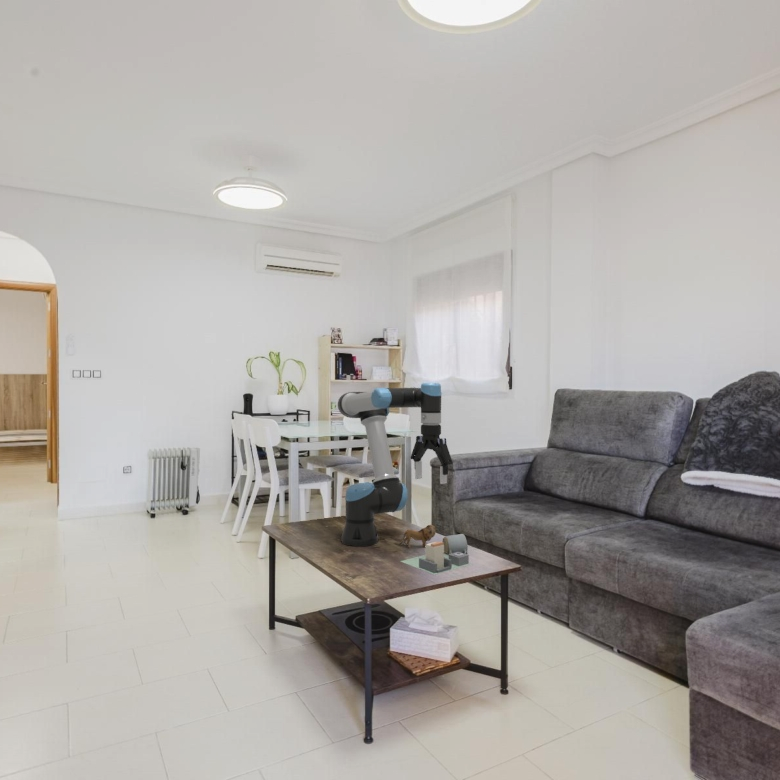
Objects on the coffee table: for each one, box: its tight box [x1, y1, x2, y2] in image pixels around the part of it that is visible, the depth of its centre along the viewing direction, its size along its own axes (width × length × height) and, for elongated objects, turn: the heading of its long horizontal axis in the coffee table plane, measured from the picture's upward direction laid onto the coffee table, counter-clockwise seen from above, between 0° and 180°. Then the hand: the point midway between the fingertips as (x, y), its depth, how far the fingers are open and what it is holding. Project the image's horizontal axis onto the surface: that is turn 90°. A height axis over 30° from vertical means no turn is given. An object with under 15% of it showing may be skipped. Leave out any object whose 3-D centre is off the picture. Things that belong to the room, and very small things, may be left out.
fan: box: [448, 552, 470, 566], centre depth 199 cm, size 5×5×4 cm
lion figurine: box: [398, 524, 436, 549], centre depth 222 cm, size 15×5×9 cm, turn 83°
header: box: [419, 557, 452, 574], centre depth 194 cm, size 9×8×3 cm
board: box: [399, 554, 471, 576], centre depth 199 cm, size 18×18×1 cm
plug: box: [425, 541, 445, 569], centre depth 193 cm, size 4×4×9 cm
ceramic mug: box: [441, 533, 469, 555], centre depth 211 cm, size 11×8×8 cm
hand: (430, 481), depth 208 cm, fingers open, 13 cm apart
